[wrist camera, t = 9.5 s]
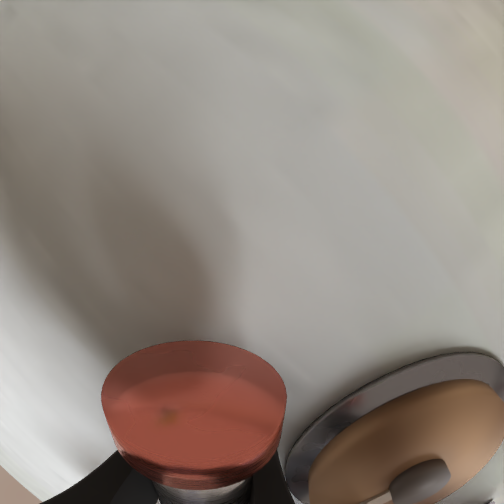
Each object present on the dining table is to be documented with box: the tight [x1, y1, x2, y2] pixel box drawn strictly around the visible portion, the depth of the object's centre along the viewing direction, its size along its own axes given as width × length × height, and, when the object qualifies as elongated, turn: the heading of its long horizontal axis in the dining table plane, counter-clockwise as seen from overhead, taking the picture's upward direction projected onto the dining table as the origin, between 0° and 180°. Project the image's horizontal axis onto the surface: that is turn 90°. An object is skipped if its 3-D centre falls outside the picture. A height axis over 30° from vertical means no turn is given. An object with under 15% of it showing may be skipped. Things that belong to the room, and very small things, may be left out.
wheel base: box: [286, 352, 504, 504], centre depth 11 cm, size 12×12×1 cm
